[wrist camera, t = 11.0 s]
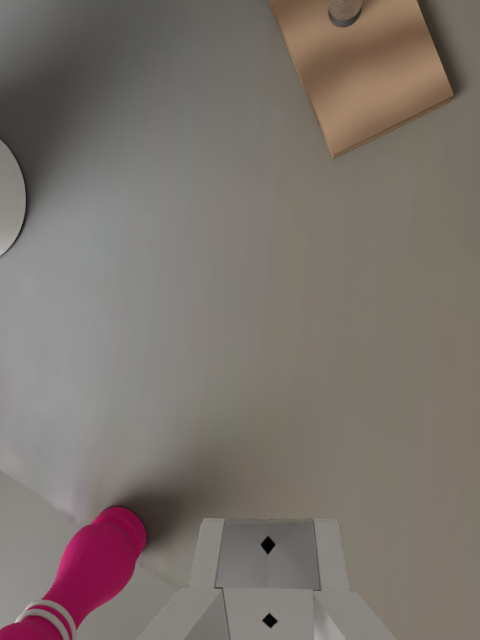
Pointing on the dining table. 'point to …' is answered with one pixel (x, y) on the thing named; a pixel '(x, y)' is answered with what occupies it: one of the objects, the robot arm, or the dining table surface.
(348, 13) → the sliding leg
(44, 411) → the dining table surface
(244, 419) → the dining table surface
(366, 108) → the wood and metal stand
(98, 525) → the pepper mill
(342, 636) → the robot arm
